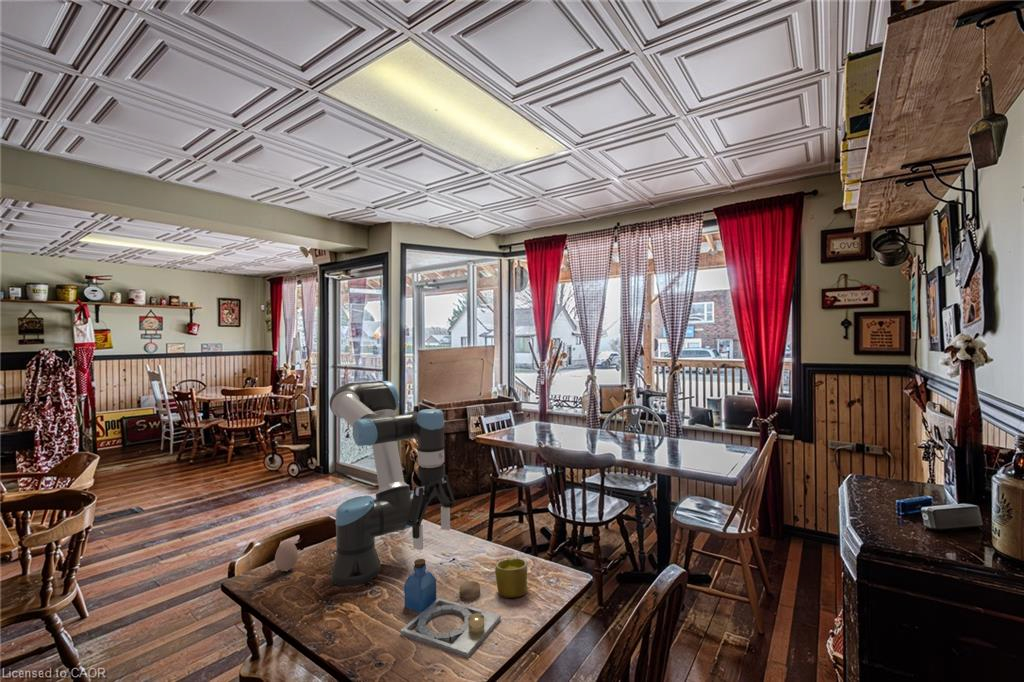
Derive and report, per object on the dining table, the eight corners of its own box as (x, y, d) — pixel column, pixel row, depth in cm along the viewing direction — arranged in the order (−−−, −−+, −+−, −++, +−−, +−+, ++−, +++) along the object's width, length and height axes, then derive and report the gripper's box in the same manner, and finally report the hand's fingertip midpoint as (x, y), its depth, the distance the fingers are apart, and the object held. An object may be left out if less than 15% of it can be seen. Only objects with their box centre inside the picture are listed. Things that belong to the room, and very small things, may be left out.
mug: (529, 597, 123) (519, 559, 126) (496, 606, 125) (486, 568, 128) (539, 583, 135) (529, 549, 137) (508, 591, 137) (499, 557, 139)
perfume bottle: (421, 613, 120) (420, 568, 121) (404, 606, 124) (403, 563, 124) (436, 601, 126) (435, 559, 126) (420, 596, 129) (419, 554, 129)
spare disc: (455, 597, 128) (455, 589, 128) (466, 587, 133) (466, 579, 133) (473, 602, 125) (472, 593, 125) (483, 592, 130) (483, 583, 130)
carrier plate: (400, 635, 111) (400, 618, 111) (438, 601, 126) (438, 586, 126) (467, 658, 102) (467, 639, 102) (500, 619, 116) (500, 603, 117)
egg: (293, 563, 151) (293, 535, 151) (301, 570, 146) (300, 540, 146) (272, 571, 146) (271, 541, 146) (279, 578, 141) (278, 547, 141)
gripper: (415, 478, 114) (416, 560, 114) (464, 455, 136) (466, 523, 136) (392, 474, 117) (393, 555, 117) (444, 452, 140) (445, 520, 139)
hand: (432, 538), depth 127 cm, fingers open, 13 cm apart
